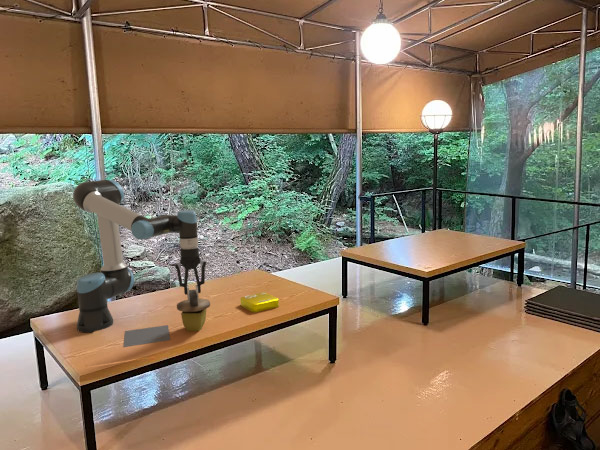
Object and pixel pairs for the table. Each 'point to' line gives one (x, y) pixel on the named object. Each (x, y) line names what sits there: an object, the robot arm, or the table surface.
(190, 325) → the flower pot
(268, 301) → the element tile
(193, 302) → the lid
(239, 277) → the table surface
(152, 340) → the mat
